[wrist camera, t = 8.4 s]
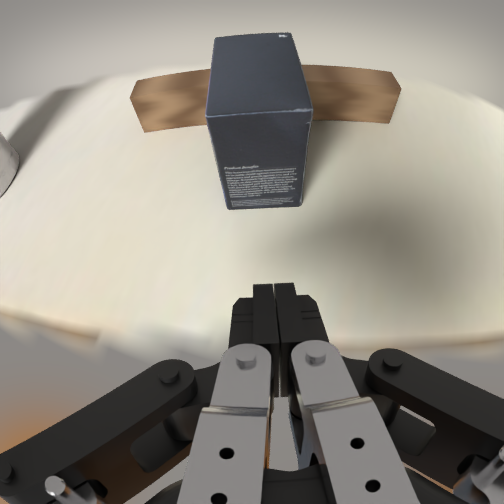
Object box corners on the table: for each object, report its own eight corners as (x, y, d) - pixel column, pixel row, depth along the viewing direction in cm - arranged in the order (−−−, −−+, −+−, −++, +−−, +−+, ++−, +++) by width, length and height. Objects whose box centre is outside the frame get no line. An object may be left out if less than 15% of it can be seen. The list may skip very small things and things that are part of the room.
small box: (225, 123, 29) (211, 34, 20) (289, 120, 29) (293, 30, 19) (222, 212, 25) (198, 114, 15) (303, 208, 25) (319, 108, 15)
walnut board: (144, 132, 29) (129, 97, 25) (149, 114, 31) (136, 80, 26) (388, 123, 28) (401, 88, 24) (380, 106, 30) (391, 72, 25)
